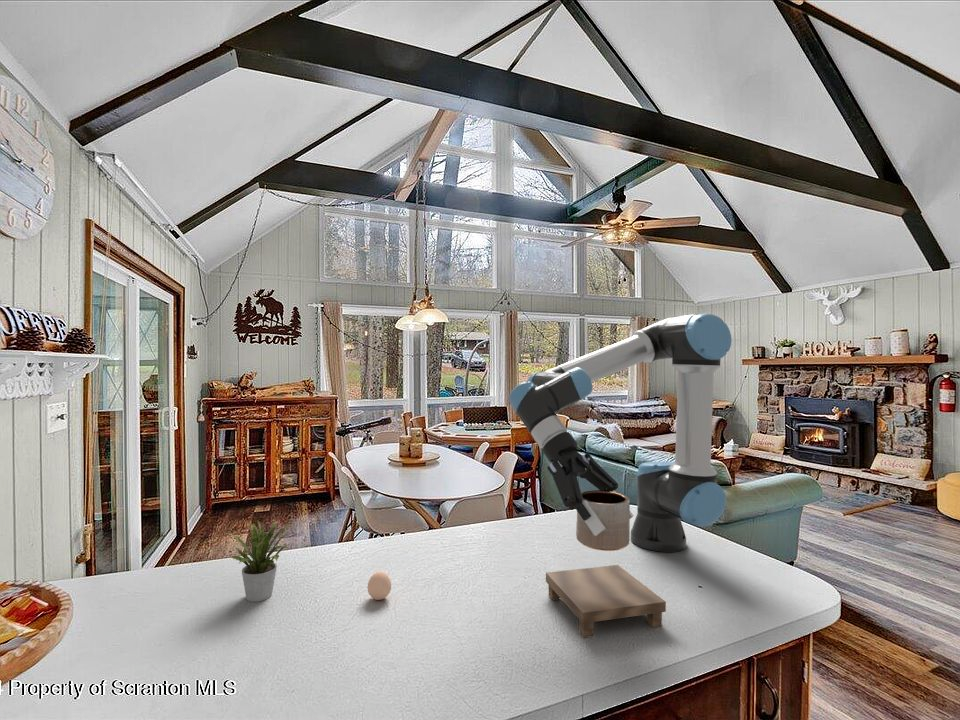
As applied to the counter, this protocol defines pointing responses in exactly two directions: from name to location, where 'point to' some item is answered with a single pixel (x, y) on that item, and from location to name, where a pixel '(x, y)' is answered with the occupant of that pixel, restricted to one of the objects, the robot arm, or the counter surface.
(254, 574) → the house plant
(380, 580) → the egg
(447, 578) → the counter surface
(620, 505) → the planter
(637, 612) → the plant stand
